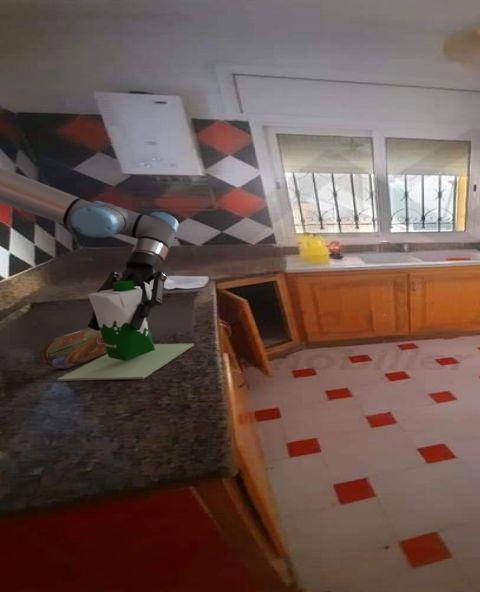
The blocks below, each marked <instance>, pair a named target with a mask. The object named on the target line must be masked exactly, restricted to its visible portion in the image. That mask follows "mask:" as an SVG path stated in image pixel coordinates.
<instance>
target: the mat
mask: <svg viewBox="0 0 480 592" xmlns="http://www.w3.org/2000/svg"><path fill="white" fill-rule="evenodd" d="M153 344H154V348H155V350H154V351H151V352H149V353H146V354H143V355H141V356H138V357H136V358H133V359H131V360H128V361H123V360H119V359H114V358H110V357H109V356H108V353H105V354H103V355H101V356H99V357H97V358H95V359H94V360H92V361H90V362H88V363H86V364H84V365H82V366H80V367H78V368H76V369H74V370H72V371H70V372H67V373H66V374H64V375H61V376H60V377H57V381H58V382H63V381H64V382H67V381H68V382H69V381H108V380H109V381H111V380H145V378H147V377H149V376H150V375H152V374H153V373H154V372H156V371H158V370H159V369H161V368H162V367H164V366H165V365H168V364H169V362H172V361H173V360H174V359H176V358H177V357H179V356H180V355H182V354H183V353H185V352H186V351H188V350H189V349H191V348H192V347H194V346H195V343H153Z"/></svg>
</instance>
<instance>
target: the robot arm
mask: <svg viewBox="0 0 480 592" xmlns="http://www.w3.org/2000/svg"><path fill="white" fill-rule="evenodd" d="M0 203H2V204H4V205H7V206H10V207H13V208H15V209H19V210H22V211H24V212H27V213H30V214H33V215H36V216H39V217H41V218H45V219H47V220H50V221H53V222H56V223H59V224H61V225H64V226H67V227H70V228H72V229H75V230H76V231H77V232H78V233H79V234H81V235H83V236H85V237H90V238H97V239H102V238H109V237H111V236H114V235H121V236H126V237H130V238H133V239H136V243H135V244H134V246H133V248H132V250H131V253H130V254H129V256H128V258H127V260H126V262H125V269H124V270H123V271H122V272H116V271H111V272H110V273H109V276H108V277H107V279H106V280H105V281H104V283H102V285H101V286H100V287H99V288H98V290H97V291H96V292H95V293H97V292H100V291H104V290H110V289H114V288H113V284H112V283H114V282H118V281H126V280H131V281H133V284H134V288H136V287H138V288H139V289H142V301H141V302H142V303H143V304H138V307H137V309H136V311H135V313H134V316H133V318H132V320H131V322H130V324H129V327H131V328H133V329H135V330H140V328H141V326H142V323H143V321H144V319H145V318H146V319H147V318H148V317H149V315H150V313H151V310H152V308H154V307H155V306H158V307H159V306H161V305H162V304H163V296H164V289H165V282H166V280H167V279H168V276H167V275H166V274H165V273H164V272H162V271H161V269H162V267H163V265H164V262H165V259H166V258H167V255H168V252H169V250H170V248H171V246H172V244H173V242H174V241H175V238H176V236H177V232H178V229H179V226H180V224H179V221H178V220H177V219H176V218H175V216H173V215H171V214H170V213H167V212H163V211H160V212H159V211H154V212H151V214H149V215H146V214H142V213H139V212H135V211H132V210H130V209H126V208H124V207H120V206H117V205H114V204H113V203H107V202H104V201H100V200H94V201H88V200H85V199H82V198H80V197H78V196H76V195H73V194H71V193H69V192H65V191H64V190H61V189H58V188H55V187H53V186H50V185H48V184H44V183H43V182H39V181H37V180H35V179H32V178H30V177H27V176H24V175H22V174H19V173H17V172H15V171H11V170H9V169H6V168H4V167H1V166H0ZM152 281H153V282H152ZM89 302H90V303H91V301H90V300H89ZM91 316H92V317H91V318H90V321H89V323H88V324H87V328H91V329H94V330H96V331H100V328H99V324H98V321H97V318H96V315H95V311H94V310H93V311H92V313H91Z"/></svg>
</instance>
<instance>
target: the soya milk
mask: <svg viewBox="0 0 480 592" xmlns="http://www.w3.org/2000/svg"><path fill="white" fill-rule="evenodd" d="M112 284H113V288H114V289H110V290H104V291H100V292H97V291H96V292H97V293H96V292H92V293H89V294H87V296H88V299H89V302H90V301H91V302H90V304H91V306H92V309H93V311H95V315H96V318H97V321H98V324H99V328H100V331H101V334H102V337H103V341H104V344H105V347H106V350H107V353H106V354H108V356H109V357H110V358H114V359H119V360H123V361H128V360H131V359H133V358H136V357H138V356H141V355H143V354H146V353H149V352H151V351H154V350H155V348H154V344H155V343H154V341H153V338H152V335H151V332H150V326H149V323H148V319H147V318H145V319H144V321H143V323H142V326H141V328H140V330H135V329H133V328H131V327H129V324H130V322H131V320H132V318H133V316H134V313H135V311H136V309H137V307H138V304H143V305H144V303H142V302H143V300H142V289H140V288H139V287H138V288H136V287H134V284H133V281H131V280H126V281H118V282H114V283H112ZM141 301H142V302H141Z"/></svg>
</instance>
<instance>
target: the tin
mask: <svg viewBox="0 0 480 592" xmlns="http://www.w3.org/2000/svg"><path fill="white" fill-rule="evenodd" d="M106 354H108V353H107V350H106V347H105V344H104V341H103V337H102V334H101V331H96V330H94V329H91V328H89V327H87V328H84V329H81V330H78V331H75V332H71V333H68V334H64V335H61V336H59V337H56V338H53V339H50V340H48V341H47V342H46V343H45V344H44V345H43V347H42V348H41V350H40V359H41V361H42V363H44V364H45V365H46V366H47V367H50V368H55V369H64V370H65V369H70V368H73V367H76V366H78V365H81V364H84V363H85V362H88V361H91V360H93V359H97V358H100V357H102V356H104V355H106Z"/></svg>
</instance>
